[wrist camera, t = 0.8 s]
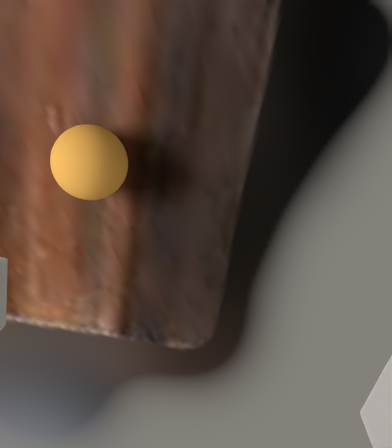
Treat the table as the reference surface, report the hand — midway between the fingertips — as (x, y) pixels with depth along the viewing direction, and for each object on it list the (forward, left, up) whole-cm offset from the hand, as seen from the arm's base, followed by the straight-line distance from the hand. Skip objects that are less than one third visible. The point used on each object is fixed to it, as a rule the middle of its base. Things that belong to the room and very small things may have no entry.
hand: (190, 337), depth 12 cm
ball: (0, -9, -16) cm, 18 cm away
